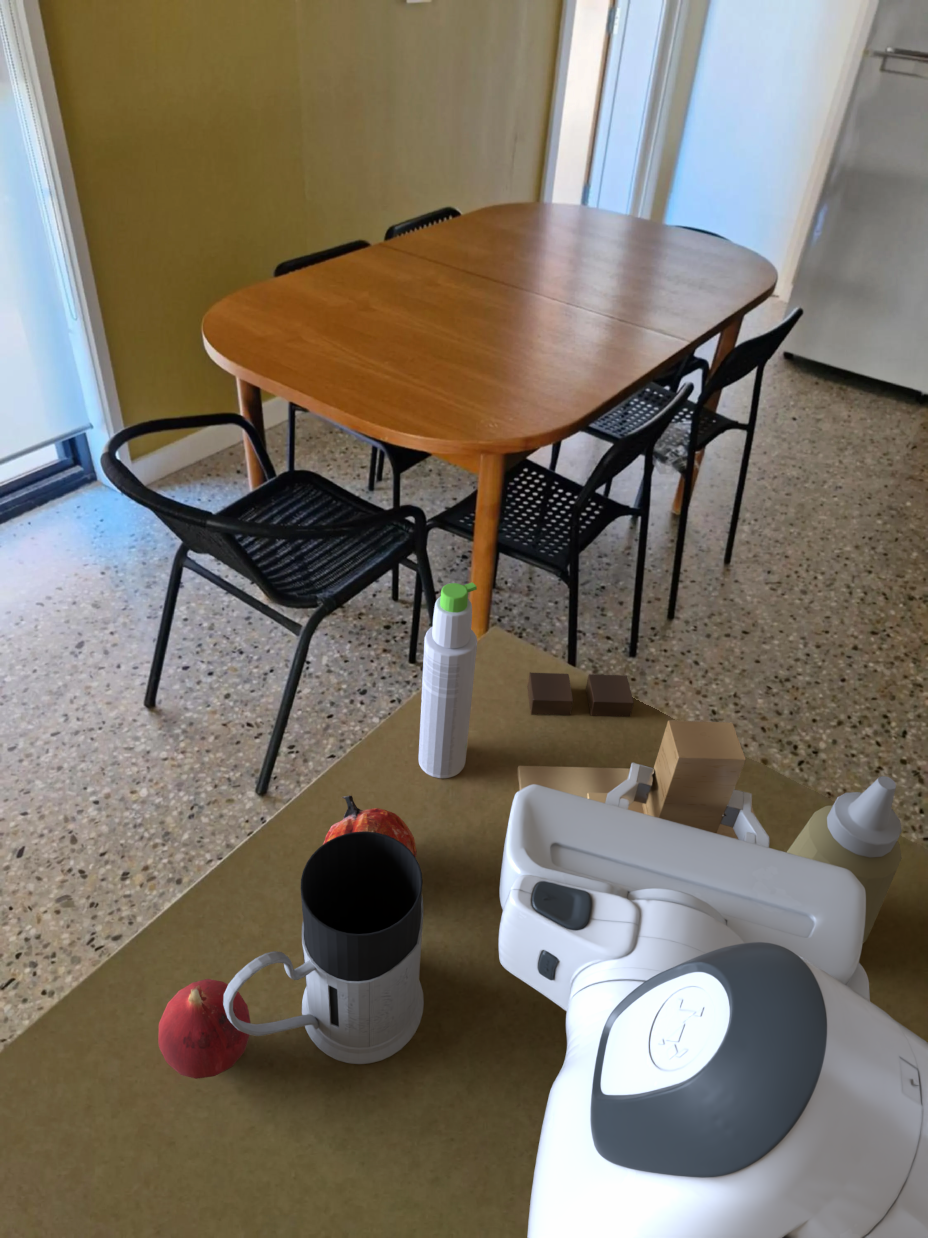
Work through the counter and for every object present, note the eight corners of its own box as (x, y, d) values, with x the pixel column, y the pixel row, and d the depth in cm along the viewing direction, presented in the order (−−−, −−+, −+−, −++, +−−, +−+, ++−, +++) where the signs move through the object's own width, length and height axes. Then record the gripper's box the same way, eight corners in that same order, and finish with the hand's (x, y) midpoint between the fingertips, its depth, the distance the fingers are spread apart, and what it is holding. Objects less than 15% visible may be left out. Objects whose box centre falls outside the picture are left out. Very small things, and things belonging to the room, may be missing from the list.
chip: (565, 687, 91) (568, 673, 90) (570, 715, 88) (573, 701, 87) (527, 686, 91) (529, 672, 90) (530, 714, 88) (532, 700, 87)
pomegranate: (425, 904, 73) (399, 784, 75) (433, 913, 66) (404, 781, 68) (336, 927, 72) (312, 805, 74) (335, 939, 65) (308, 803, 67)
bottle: (470, 775, 81) (488, 604, 69) (423, 782, 80) (433, 610, 68) (459, 741, 85) (474, 571, 72) (414, 746, 84) (422, 576, 71)
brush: (737, 824, 62) (784, 712, 55) (757, 886, 58) (810, 774, 51) (580, 820, 61) (608, 706, 54) (590, 883, 57) (621, 769, 50)
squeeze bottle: (733, 923, 71) (802, 775, 60) (788, 869, 76) (862, 722, 64) (822, 998, 67) (915, 853, 55) (875, 936, 71) (971, 790, 60)
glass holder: (448, 1010, 64) (461, 890, 55) (278, 1148, 56) (260, 1036, 47) (375, 925, 69) (376, 801, 60) (210, 1042, 61) (180, 921, 52)
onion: (272, 1041, 62) (263, 982, 57) (214, 1116, 58) (199, 1060, 53) (209, 998, 64) (195, 937, 59) (148, 1068, 60) (128, 1008, 55)
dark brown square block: (623, 689, 92) (627, 675, 91) (630, 717, 89) (633, 702, 87) (585, 688, 92) (588, 674, 90) (590, 716, 88) (593, 701, 87)
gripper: (896, 1012, 42) (876, 795, 52) (480, 888, 46) (539, 709, 56) (850, 1072, 46) (841, 859, 56) (471, 954, 50) (528, 775, 60)
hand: (687, 783), depth 56 cm, fingers closed on brush, 5 cm apart
